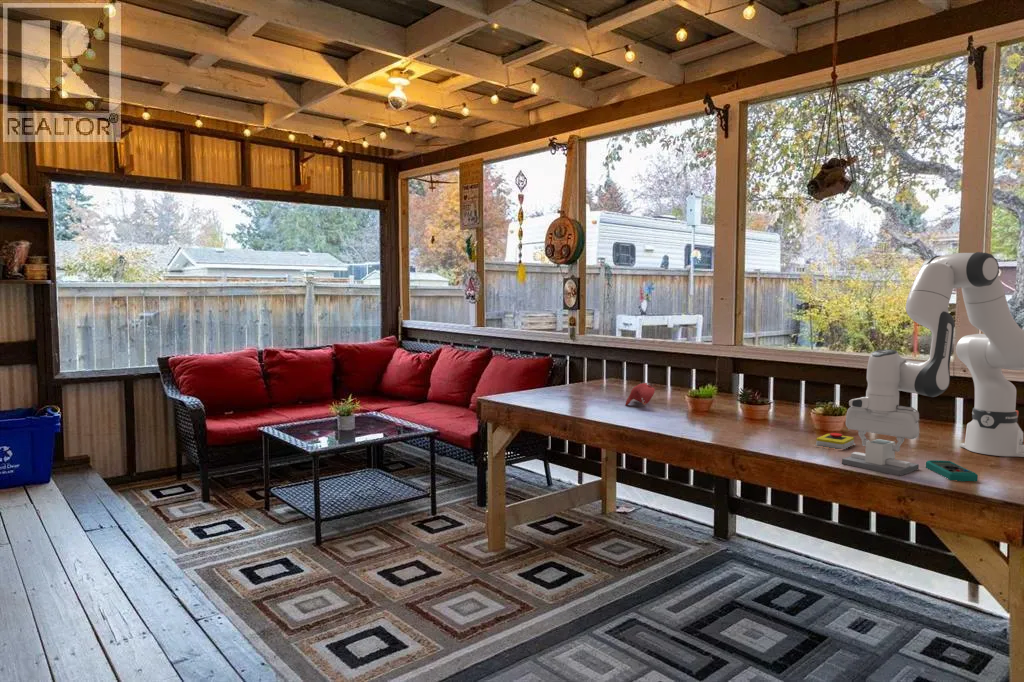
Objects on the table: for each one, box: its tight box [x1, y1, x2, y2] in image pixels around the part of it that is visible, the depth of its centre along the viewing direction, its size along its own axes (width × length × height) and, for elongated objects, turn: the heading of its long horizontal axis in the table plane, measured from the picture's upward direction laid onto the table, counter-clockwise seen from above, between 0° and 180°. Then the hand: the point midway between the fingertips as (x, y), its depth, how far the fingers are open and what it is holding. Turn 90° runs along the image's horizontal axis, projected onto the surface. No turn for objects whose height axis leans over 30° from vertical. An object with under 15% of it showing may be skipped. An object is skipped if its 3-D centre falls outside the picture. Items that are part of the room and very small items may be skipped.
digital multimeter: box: [925, 459, 979, 482], centre depth 193 cm, size 7×15×3 cm, turn 174°
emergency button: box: [815, 432, 856, 450], centre depth 230 cm, size 9×4×15 cm
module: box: [864, 438, 896, 465], centre depth 202 cm, size 8×5×6 cm, turn 126°
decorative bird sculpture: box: [624, 382, 656, 406], centre depth 311 cm, size 28×9×15 cm
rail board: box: [841, 451, 920, 477], centre depth 202 cm, size 12×17×3 cm
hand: (880, 448), depth 202 cm, fingers open, 8 cm apart
